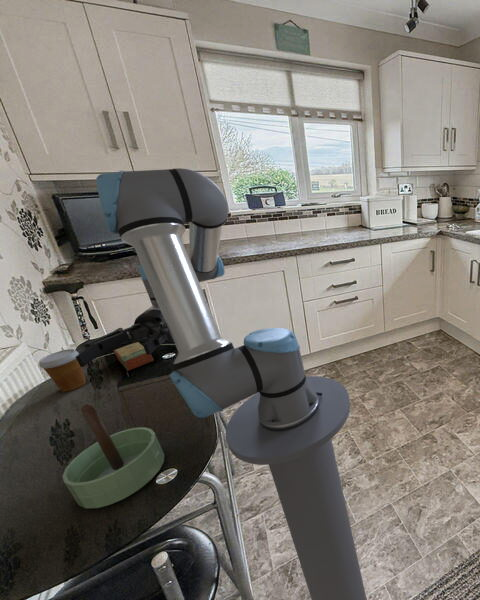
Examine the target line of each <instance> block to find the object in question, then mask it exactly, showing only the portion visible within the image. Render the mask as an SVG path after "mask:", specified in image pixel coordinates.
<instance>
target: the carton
mask: <svg viewBox="0 0 480 600" xmlns="http://www.w3.org/2000/svg"><path fill="white" fill-rule="evenodd" d="M113 353H114V355H115V356H116V359H117V361H119V363H120V364H121V365H122V366H123V367H124V368H125V369H126V371H128V372H129V371H131V370H133V369H136V368H139V367H142V366H144V365H146V364H149V363H151V362H154V358H153V355H152V353H151V354H148V355H147V354H146V351H145V349H144V347H143V344H141V343H140V342H139V341H137V342H133V343H130V344H127V345H124V346H122V347H119V348H116V349H114V350H113Z"/></svg>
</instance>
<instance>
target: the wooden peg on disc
mask: <svg viewBox="0 0 480 600" xmlns="http://www.w3.org/2000/svg"><path fill="white" fill-rule="evenodd" d="M80 412H81V414H82V416H83V418H84V420H85V422H86V424H87V425H88V427H89V429H90V431H91V433H92V434H93V436H94V438H95V440H96V442H98V443H99V445H100V447H101V449H102V451H103V453H104V454H105V456H106V458H107V460H108V462H109V464H110V465H109V466H108V467H107V468H106V469H105V470H104V471H103V472H102V473H101V475H100V477H99V478H101V477H104V476H106V475H109V474H111V473H113V472H115V471H117V470H119V469H120V468H122V467H124V466H126V465H127V464H129V463H130V462H131V461H133V460H134V459H135V458H137V456H128V457H125V458H121V456H120V454H119V452H118V450H117V449H116V447H115V445H114V443H113V441H112V439H111V437H110V435H111V434H110V433H109V431H108V430H107V427H106V426H105V424H104V422H103V420H102V418H101V416H100V415H99V413H98V410H97V409H96V406H95V405H94V404H93V403H90V402H89V403H85V404H83V405H82V406H81V407H80Z"/></svg>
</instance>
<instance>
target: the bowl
mask: <svg viewBox="0 0 480 600" xmlns="http://www.w3.org/2000/svg"><path fill="white" fill-rule="evenodd" d="M109 435H110V437H111V439H112V441H113V443H114V445H115V447H116V449H117V450H118V452H119V454H120V456H121V458H125V457H128V456H137V458H135V459H134V460H133V461H131V462H130V463H129V464H127V465H126V466H124V467H122V468H120V469H119V470H117V471H115V472H113V473H111V474H109V475H106V476H104V477H101V478H99V477H100V475H101V473H102V472H103V471H104V470H105V469H106V468H107V467H108V466H109V465H110V464H109V462H108V460H107V458H106V456H105V454H104V453H103V451H102V449H101V447H100V445H99V443H98V442H97V441H96V442H94V443H93V444H91V445H90V446H89V447H87V448H86V449H84V450H82V451H81V452H80V453H78V455H76V456H75V457H74V458H73V459H72V460H71V461H70V463H68V465H66V467H65V469H64V472H63V474H62V480H63V483H64V484H65V487H66V488H67V489H68V490H69V492H70V494H71V496H72V497H73V500H74V501H75V502H76V503H77V505H78V506H79V507H80V508H83V509H86V510H87V509H88V510H89V509H100V508H104V507H107V506H110V505H113V504H115V503H117V502H120V501H123V500H125V499H126V498H128V497H130V496H132V495H133V494H134V493H136V492H138V491H139V490H141V489H142V488H143V487H144V486H146V485H147V484H148V483H149V482H150V481H151V480H153V478H154V477H155V476H156V475H157V474H158V472H159V471H160V470H161V468H162V466H163V465H164V462H165V453H164V450H163V448H162V446H161V444H160V441H159V439H158V437H157V434H156V433H155V432H154V431H153V429H152V428H148V427H145V426H143V427H132V428H128V429H124V430H120V431H118V432H115V433H113V434H109Z"/></svg>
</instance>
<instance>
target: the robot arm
mask: <svg viewBox="0 0 480 600" xmlns="http://www.w3.org/2000/svg"><path fill="white" fill-rule="evenodd" d="M95 184H96V190H97V193H98V198H99V203H100V206H101V209H102V213H103V217H104V221H105V222H104V223H105V225H106V229H107V231H108V233H109V234H115V235H119V238H120V240H121V242H122V243H125V244H126V245H129V246H132V247H133V248H134V250H135V252H136V254H137V255H136V256H137V258H138V260H139V262H140V264H139V265H138V267H137V268H138V271H139V275H140V278H141V281H142V283H143V285H144V288H145V290H146V293H147V295H148V298H149V300H150V303H151V306H150V307H149V308H147V309H146V310H145V311H143V312H142V313H141V314H139V315H138V316H137V317H136V318H135V320H134V322H133V324H132V325H131V326H129V327H127V328H123V327H118V328H116V329H115V330H113V331H111V332H109V333H106V334H103V335H102V336H100V337H98V338H95V339H92V340H91V341H89V342H86V343H84V344H82V346H83V348H84V350H83V351H81V352H80V353H79V354H78V355H77V356H76V359H77V361H78V363H79V365H80V367H82V368H84V367H86V366H88V364H90V363H91V362H93V360H95V359H96V358H97V357H100V356H101V354H102V352H104V351H105V350H109V349H111V348H114V347H116V346H119V345H122V344H124V343H131V342H134V341H137V340H141V339H144V338H148V339H147V340H146V341H144V343H143V344H142V346H143V347H144V349H145V351H146V354H147V355H148V354H151V355H152V354H153V352H154V351H155V350H156V349H158V347H159V346H161V345H162V344H163V343H164V342H167V341H169V339H171V340H172V341H173V343H174V345H175V347H176V350H177V356H176V357H175V359H174V361H173V365H174V368H175V370H173V371H172V372H171V373H170V374H169V377H170V380H171V381H172V383H173V384H174V386H175V387H176V390H177V391H178V392H179V394H180V396H181V397H182V399H183V400H184V402H185V403H186V406H188V408H189V409H190V411H191V412H192V414H193V415H194V416H195V417H196V418H198V419H204V418H205V419H206V418H208V417H210V416H212V415H214V414H217V413H220V412H223V411H224V410H225V409H227V408H229V407H231V406H233V405H236V404H237V403H240V402H242V401H243V400H245V399H249V398H251V397H252V396H254V395H255V394H257V393H258V392H259V393H260V400H259V405H258V408H259V411H258V417H259V420H260V423H261V425H262V427H264V428H265V429H267V430H270V431H285V430H290V429H293V428H296V427H298V426H300V425H302V424H304V423H305V422H307V421H308V420H310V419H311V418H312V417H313V416H314V415H315V413H316V412H317V410H318V408H319V400H318V396H322V393H319V392H315V391H314V389H313V388H312V386H311V385H310V383H309V382H308V381H307V379H306V377H307V375H306V372H305V367H304V363H303V358H302V354H301V353H302V352H301V350H300V348H301V347H300V344H299V342H298V339H297V336H296V333H294V331H292V330H290V329H288V328H284V327H266V328H261V329H257V330H254V331H252V332H249V334H247V335H246V336H245V337H244V338H243V345H241V346H237V347H234V344H233V342H232V341H231V340H229V339H227V338H224V337H223V336H222V335H221V332H220V330H219V328H218V325H217V323H216V320H215V318H214V315H213V313H212V310H211V308H210V306H209V303H208V300H207V298H206V295H205V294H204V291H203V289H202V286H201V284H200V283H202V282H207V281H210V280H215V279H217V278H220V277H221V278H222V277H223V276H224V275H225V266H224V263H223V260H222V259H221V257H220V256H219V250H220V243H221V235H222V229H223V226H224V225H225V224H226V223H227V221H228V216H229V204H228V200H227V198H226V196H225V194H224V193H223V191H222V190H221V188H220V187H219V186H218V184H216V183H215V182H214V181H213V180H212V179H210V178H209V177H207V176H206V175H204V174H202V173H201V172H198V171H195V170H192V169H190V168H189V169H188V168H180V167H179V168H178V167H177V168H168V169H167V168H166V169H148V170H147V169H146V170H145V169H143V170H128V171H126V170H119V171H114V172H104V173H100V174H98V175H97V177H96V179H95ZM187 223H188V227H189V228H188V229H189V230H188V231H189V232H188V233H189V234H188V235H189V236H188V239H189V254H188V252H187V250H186V247H185V243H184V242H183V239H182V236H183V235H184V233H185V232H186V226H185V224H187ZM130 337H131V338H130ZM317 395H318V396H317Z"/></svg>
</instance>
